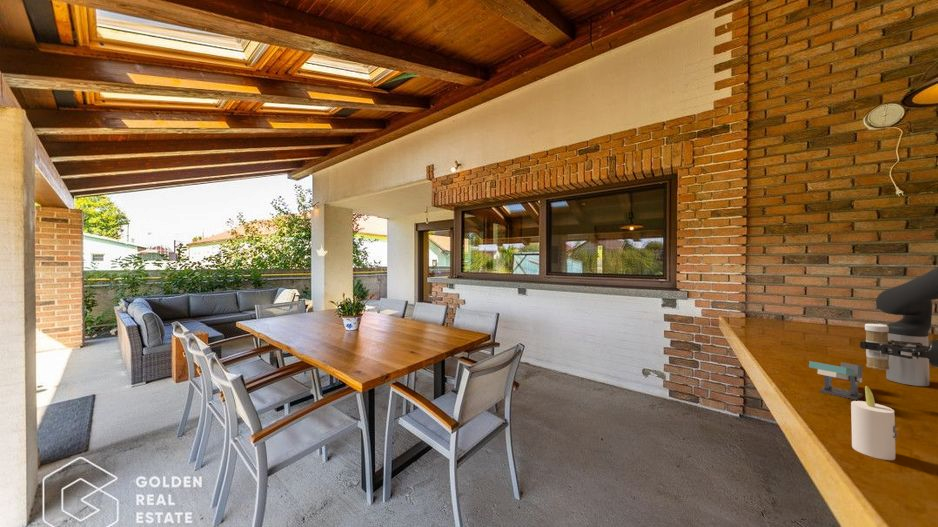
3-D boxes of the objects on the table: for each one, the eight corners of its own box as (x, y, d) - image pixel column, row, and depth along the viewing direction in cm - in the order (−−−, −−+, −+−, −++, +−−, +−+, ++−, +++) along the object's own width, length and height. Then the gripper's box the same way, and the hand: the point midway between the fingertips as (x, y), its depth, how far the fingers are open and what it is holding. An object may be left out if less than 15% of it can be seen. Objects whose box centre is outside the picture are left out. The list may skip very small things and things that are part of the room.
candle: (892, 463, 71) (891, 394, 71) (847, 448, 76) (846, 385, 76) (900, 455, 73) (899, 389, 73) (856, 441, 79) (855, 380, 79)
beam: (836, 378, 116) (837, 361, 117) (870, 385, 109) (871, 368, 110) (808, 372, 104) (809, 354, 105) (845, 380, 97) (846, 361, 98)
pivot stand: (826, 388, 112) (826, 366, 112) (862, 396, 105) (862, 373, 105) (820, 391, 109) (819, 369, 109) (856, 400, 102) (856, 376, 102)
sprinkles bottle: (890, 368, 99) (889, 324, 99) (888, 371, 97) (887, 326, 97) (866, 364, 103) (865, 322, 103) (864, 367, 100) (863, 324, 100)
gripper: (965, 339, 90) (869, 328, 106) (956, 346, 84) (855, 334, 99) (965, 365, 90) (869, 351, 106) (956, 375, 84) (855, 359, 99)
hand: (863, 343), depth 102 cm, fingers closed on sprinkles bottle, 4 cm apart
